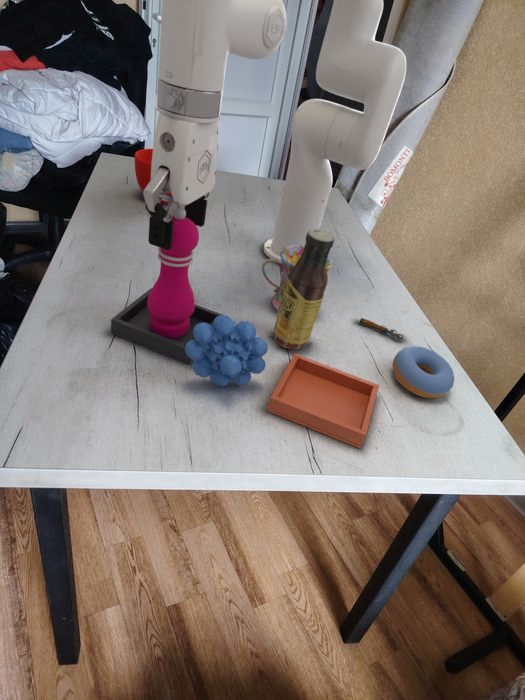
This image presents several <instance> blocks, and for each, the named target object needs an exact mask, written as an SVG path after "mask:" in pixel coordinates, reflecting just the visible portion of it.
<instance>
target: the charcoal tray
mask: <svg viewBox="0 0 525 700" xmlns="http://www.w3.org/2000/svg"><path fill="white" fill-rule="evenodd" d="M151 289H152V287H150V288H149V289H148V290H147V291H146V292H144V293H143V294H141V295H140V296H139V297H138V298H136V299H135V300H134V301H133V302H132V303H130V304H129V305H128V306H126V307H125V308H124V309H122V310H121V311H120V312H119V313H118V314H116V315H115V316H113V317H112V318H111V319H110V334H113V335H115V336H117V337H120V338H122V339H125V340H126V341H127V340H128V341H129V342H132V343H135V344H138V345H140V346H142V347H144V348H147V349H149V350H152V351H155V352H158V353H160V354H161V355H162V354H163V355H164V356H167V357H170V358H172V359H174V360H178V361H180V362H182V363H185V364H188V365H192V364H193V362H194V360H193V359H191V358H189V357H188V355H187V354H186V352H185V346H186V344H187V342H189V341H190V340H196V339H195V338H194V335H193V330H194V327H195V326H196V325H197V324H198V323H208V324H210V325H211V326H212V327H213V322H214V320H215V318H216V317H218V316H219V315H224V314H223V313H220V312H217V311H214V310H211V309H209V308H207V307H204V306H201V305H198V304H196V303H195V309H194V312H193V314H192V315H191V316H190V317H189V318H190V324H189V330H188V332H187V333H186V334H185V335H183V336H181V337H178V338H166V337H163V336H161V335H158V334H156V333H154V332H153V331H152V330H151V329H150V326H149V323H150V315H151V313H150V311H149V309H148V306H147V302H148V296H149V293H150V291H151Z"/></svg>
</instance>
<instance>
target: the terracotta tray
mask: <svg viewBox="0 0 525 700" xmlns="http://www.w3.org/2000/svg"><path fill="white" fill-rule="evenodd" d="M379 388H380V385H379V384H377V383H374V382H372V381H369V380H366V379H364V378H361V377H358V376H356V375H354V374H351V373H348V372H346V371H343V370H340V369H338V368H335V367H332V366H329V365H327V364H325V363H322V362H319V361H316V360H315V359H311V358H308V357H306V356H303V355H300V354H298V353H294V354H293V355H292V357H291V360H290V361H289V363H288V364H287V366H286V367H285V370H284V372H283V374H282V375H281V377H280V379H279V381H278V383H277V385H276V386H275V388H274V390H273V391H272V393H271V395H270V396H269V400H268V404H267V407H266V412H268V413H271V414H273V415H275V416H277V417H281V418H283V419H285V420H288V421H290V422H293V423H295V424H298V425H301V426H302V427H306V428H308V429H310V430H313V431H315V432H318V433H320V434H323V435H325V436H328V437H330V438H333V439H335V440H337V441H340V442H342V443H345V444H346V445H347V444H348V445H349V446H352V447H355V448H357V449H361V447H362V445H363V443H364V442H365V439H366V437H367V434H368V430H369V426H370V422H371V417H372V415H373V410H374V407H375V402H376V399H377V395H378V392H379Z"/></svg>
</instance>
